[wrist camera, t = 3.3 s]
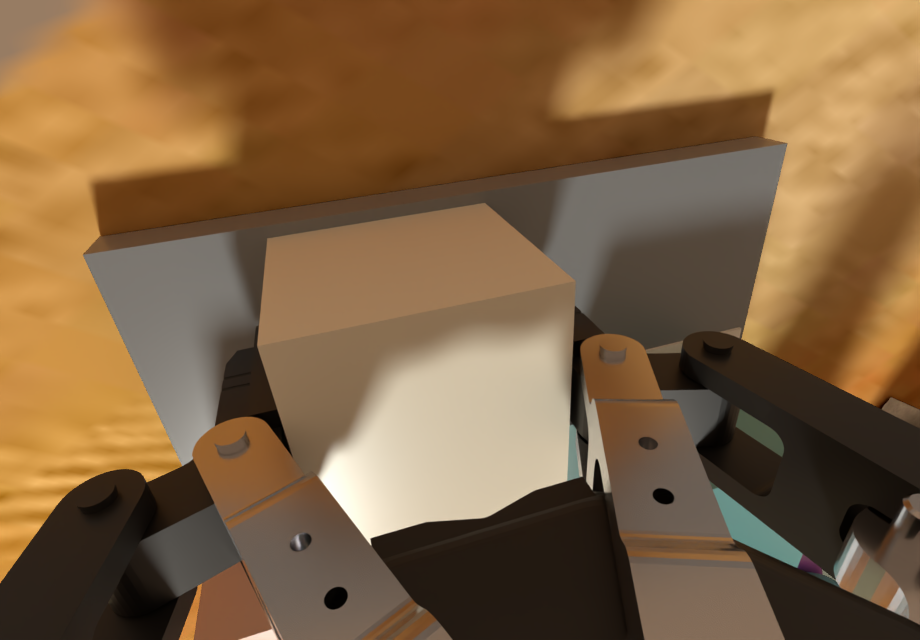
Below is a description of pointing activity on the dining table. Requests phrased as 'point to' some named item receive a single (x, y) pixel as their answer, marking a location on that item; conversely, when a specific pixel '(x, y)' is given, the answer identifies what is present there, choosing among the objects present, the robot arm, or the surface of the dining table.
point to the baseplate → (511, 196)
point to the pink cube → (231, 609)
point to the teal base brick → (735, 516)
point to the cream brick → (420, 364)
